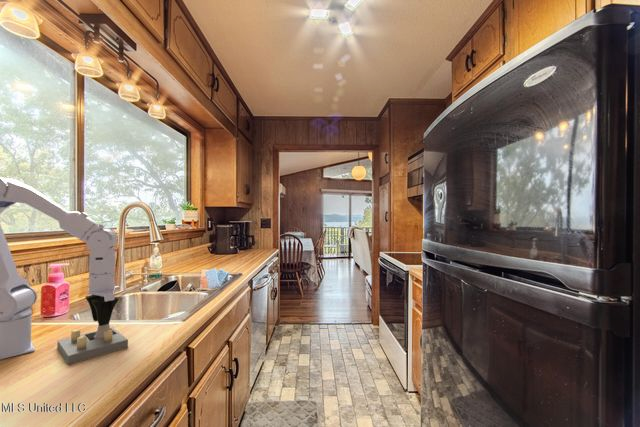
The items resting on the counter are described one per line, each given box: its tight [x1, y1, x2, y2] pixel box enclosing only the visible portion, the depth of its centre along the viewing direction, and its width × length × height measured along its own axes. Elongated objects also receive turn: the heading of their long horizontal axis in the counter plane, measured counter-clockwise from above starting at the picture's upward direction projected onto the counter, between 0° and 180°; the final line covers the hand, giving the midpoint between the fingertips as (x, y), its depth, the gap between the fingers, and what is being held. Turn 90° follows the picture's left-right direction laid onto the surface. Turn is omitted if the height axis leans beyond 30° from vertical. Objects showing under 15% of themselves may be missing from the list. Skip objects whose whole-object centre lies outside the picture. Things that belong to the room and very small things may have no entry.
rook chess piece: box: [94, 323, 113, 340], centre depth 80 cm, size 4×4×8 cm
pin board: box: [56, 326, 129, 365], centre depth 76 cm, size 13×12×4 cm
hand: (101, 322), depth 79 cm, fingers open, 4 cm apart
